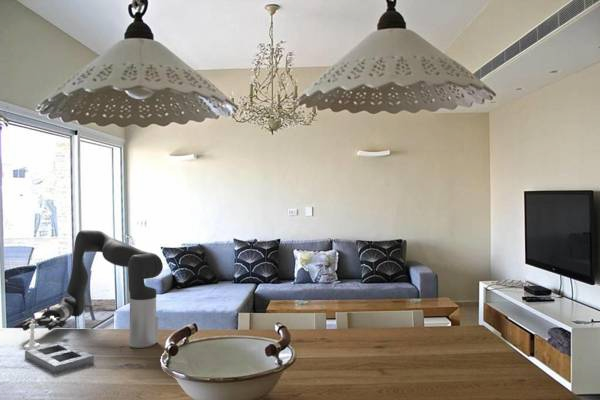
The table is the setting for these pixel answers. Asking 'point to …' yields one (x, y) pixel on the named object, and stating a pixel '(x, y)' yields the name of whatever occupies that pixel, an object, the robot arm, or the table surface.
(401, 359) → the table surface
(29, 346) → the chess piece
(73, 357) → the grey two-window frame
